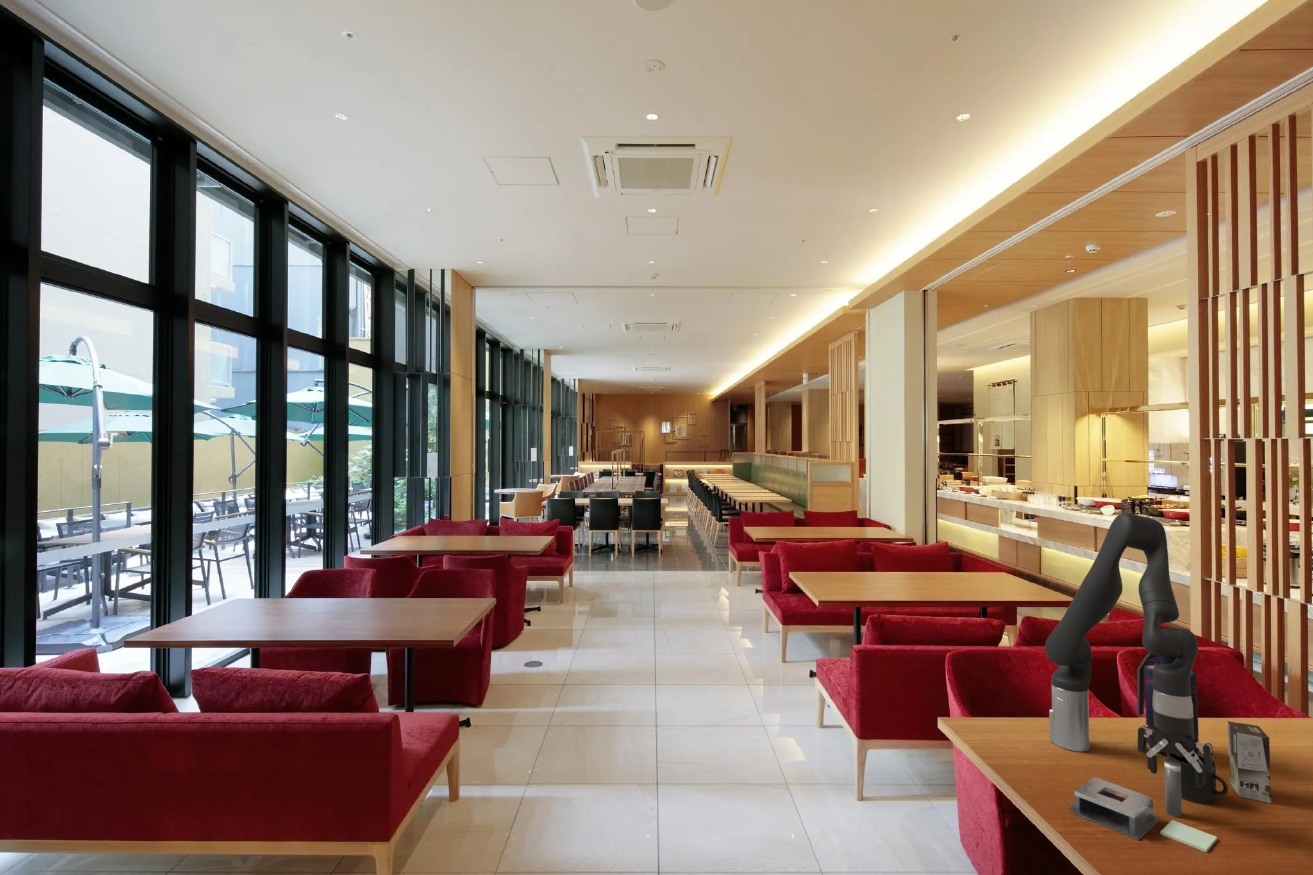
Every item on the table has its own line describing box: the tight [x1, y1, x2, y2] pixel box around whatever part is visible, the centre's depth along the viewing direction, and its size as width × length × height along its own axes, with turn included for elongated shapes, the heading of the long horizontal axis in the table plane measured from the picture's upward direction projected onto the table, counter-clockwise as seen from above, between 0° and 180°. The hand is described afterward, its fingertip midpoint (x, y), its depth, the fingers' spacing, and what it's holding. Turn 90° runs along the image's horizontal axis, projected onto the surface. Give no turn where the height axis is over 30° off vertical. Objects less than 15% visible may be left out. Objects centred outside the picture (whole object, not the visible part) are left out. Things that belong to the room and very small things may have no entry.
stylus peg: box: [1163, 759, 1183, 818], centre depth 149 cm, size 3×3×12 cm
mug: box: [1166, 753, 1229, 805], centre depth 157 cm, size 9×12×9 cm
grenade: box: [1136, 652, 1200, 755], centre depth 183 cm, size 14×12×30 cm
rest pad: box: [1160, 820, 1218, 853], centre depth 139 cm, size 8×8×1 cm
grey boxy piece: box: [1068, 776, 1161, 841], centre depth 148 cm, size 14×14×5 cm
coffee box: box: [1227, 720, 1272, 804], centre depth 159 cm, size 9×6×16 cm
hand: (1175, 779), depth 149 cm, fingers open, 8 cm apart
